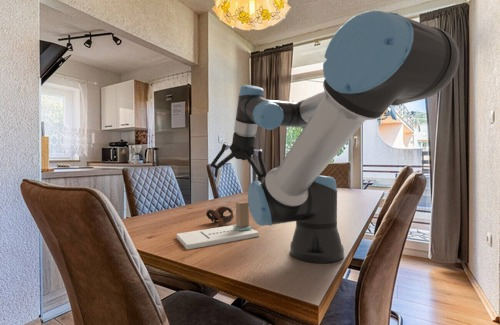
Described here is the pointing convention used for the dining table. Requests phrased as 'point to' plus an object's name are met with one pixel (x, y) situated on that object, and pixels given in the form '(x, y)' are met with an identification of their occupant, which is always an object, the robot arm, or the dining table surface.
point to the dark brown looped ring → (220, 215)
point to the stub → (242, 216)
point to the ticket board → (214, 236)
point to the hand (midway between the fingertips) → (235, 188)
